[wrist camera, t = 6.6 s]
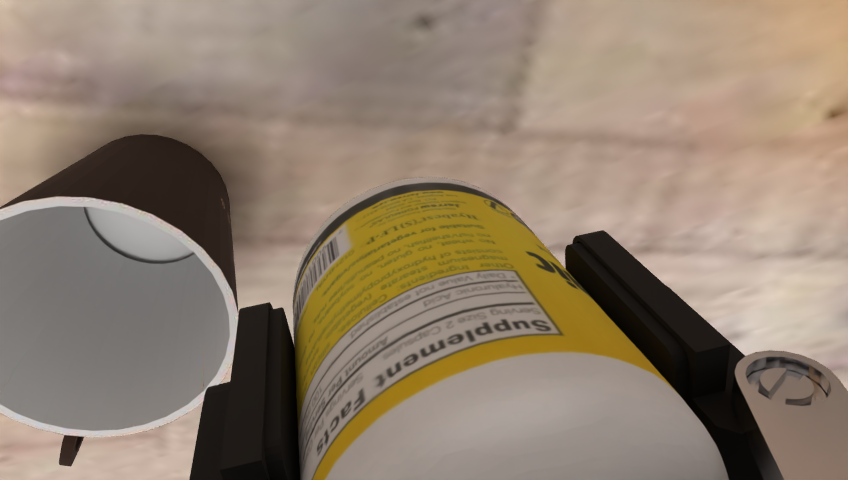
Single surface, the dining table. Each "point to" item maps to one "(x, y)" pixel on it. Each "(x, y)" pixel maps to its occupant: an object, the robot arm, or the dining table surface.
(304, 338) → the supplement bottle
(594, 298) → the robot arm
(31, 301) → the coffee mug
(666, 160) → the dining table surface
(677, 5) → the dining table surface
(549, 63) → the dining table surface
